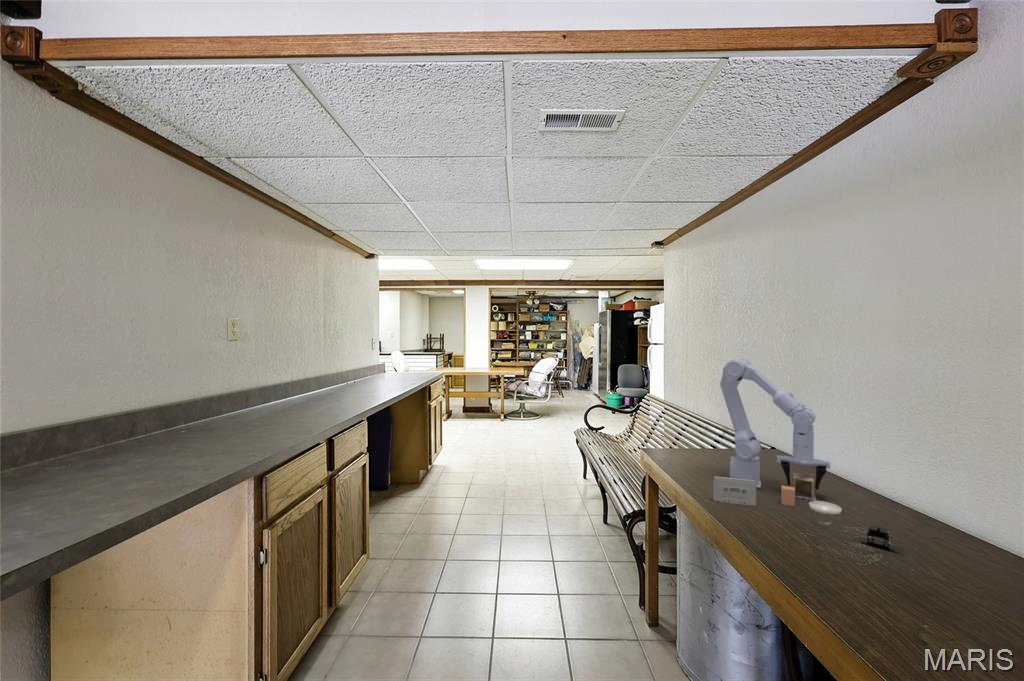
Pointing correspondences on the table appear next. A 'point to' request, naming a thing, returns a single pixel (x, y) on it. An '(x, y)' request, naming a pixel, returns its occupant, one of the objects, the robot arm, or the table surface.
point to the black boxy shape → (879, 544)
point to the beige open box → (803, 483)
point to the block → (788, 495)
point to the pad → (804, 495)
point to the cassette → (733, 496)
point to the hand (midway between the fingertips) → (802, 486)
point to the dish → (825, 507)
